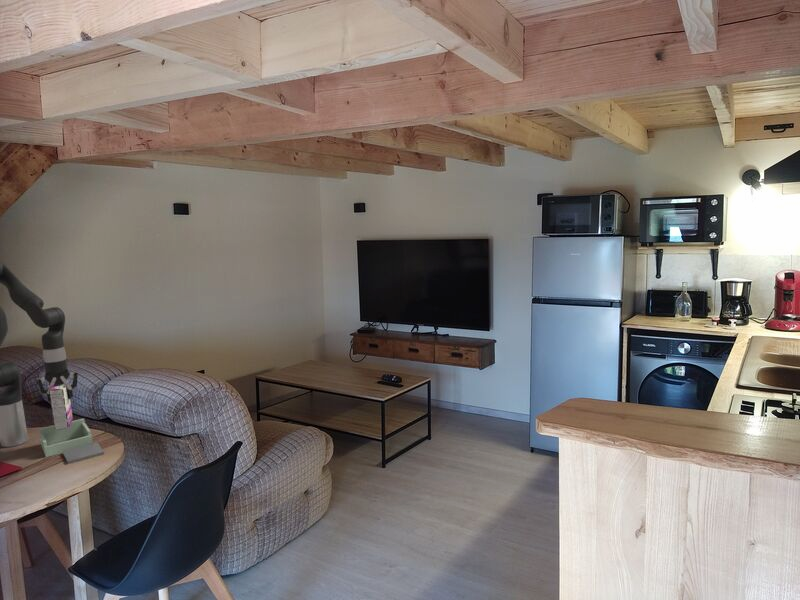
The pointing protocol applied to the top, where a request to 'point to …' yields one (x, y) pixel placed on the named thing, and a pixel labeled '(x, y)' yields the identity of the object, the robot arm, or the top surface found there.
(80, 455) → the slate tile
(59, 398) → the candy bar box
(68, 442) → the frame
